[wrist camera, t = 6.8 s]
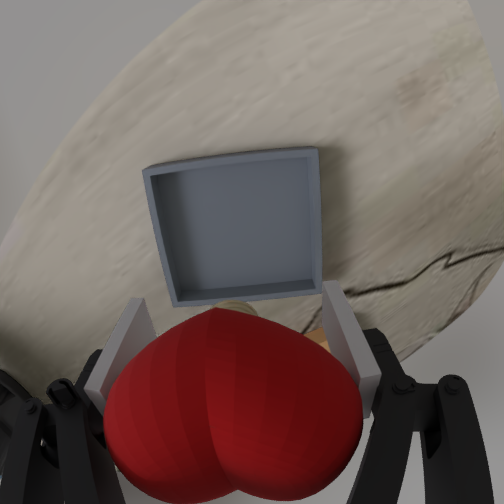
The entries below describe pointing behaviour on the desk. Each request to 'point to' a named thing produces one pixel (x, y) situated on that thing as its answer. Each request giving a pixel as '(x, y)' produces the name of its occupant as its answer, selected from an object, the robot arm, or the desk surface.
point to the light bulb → (232, 411)
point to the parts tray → (238, 225)
